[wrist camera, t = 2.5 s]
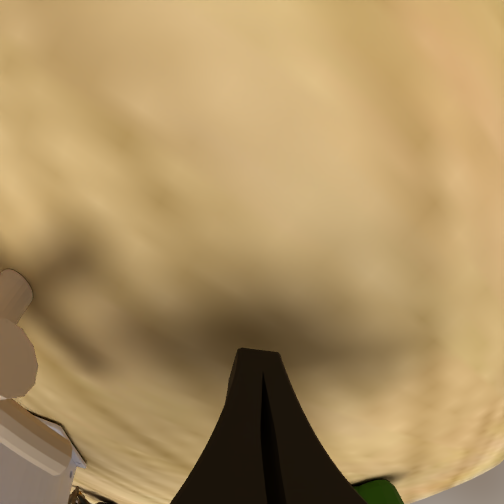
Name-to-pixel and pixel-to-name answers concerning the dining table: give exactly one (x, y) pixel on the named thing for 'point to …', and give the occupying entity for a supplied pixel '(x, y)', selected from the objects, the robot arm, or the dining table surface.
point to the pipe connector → (23, 384)
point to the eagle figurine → (73, 497)
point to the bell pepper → (379, 492)
